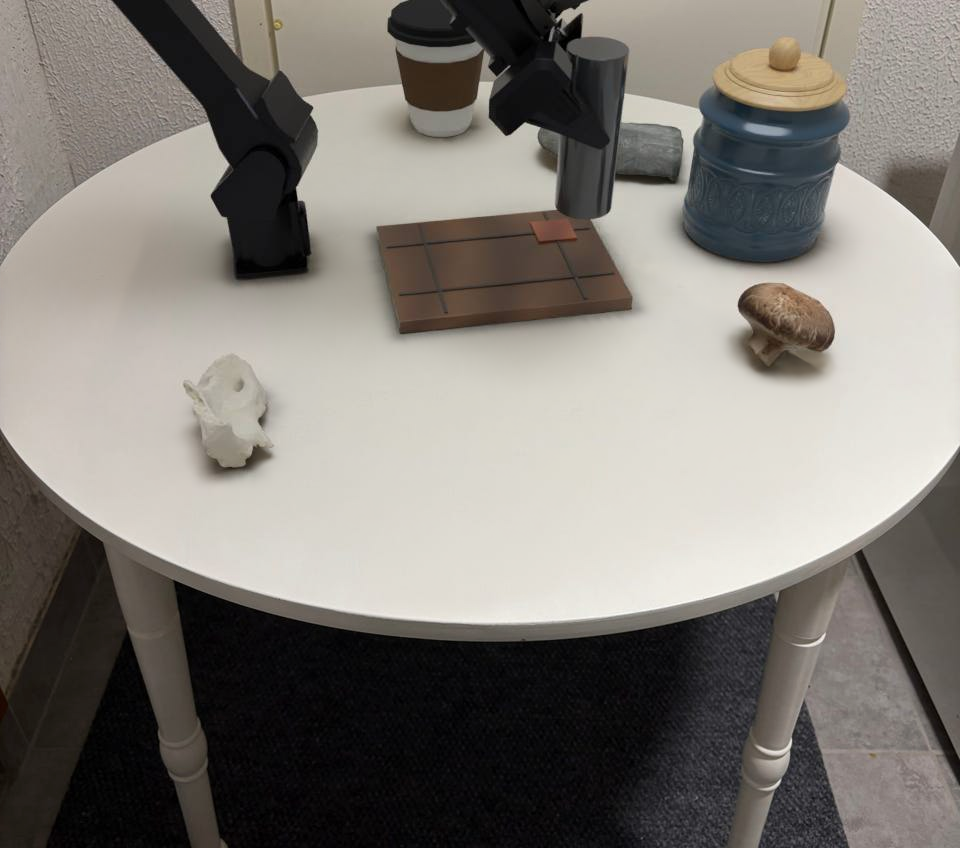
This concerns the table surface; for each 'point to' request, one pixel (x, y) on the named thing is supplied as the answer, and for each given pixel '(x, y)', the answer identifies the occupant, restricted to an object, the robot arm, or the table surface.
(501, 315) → the board
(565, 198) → the dark grey cylinder
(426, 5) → the coffee cup
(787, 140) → the canister
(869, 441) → the table surface
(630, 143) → the stone
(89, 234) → the table surface
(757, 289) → the mushroom
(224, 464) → the coral
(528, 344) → the table surface
